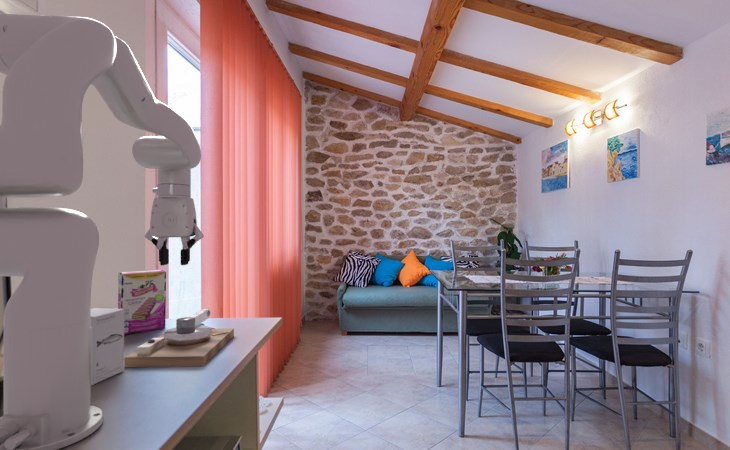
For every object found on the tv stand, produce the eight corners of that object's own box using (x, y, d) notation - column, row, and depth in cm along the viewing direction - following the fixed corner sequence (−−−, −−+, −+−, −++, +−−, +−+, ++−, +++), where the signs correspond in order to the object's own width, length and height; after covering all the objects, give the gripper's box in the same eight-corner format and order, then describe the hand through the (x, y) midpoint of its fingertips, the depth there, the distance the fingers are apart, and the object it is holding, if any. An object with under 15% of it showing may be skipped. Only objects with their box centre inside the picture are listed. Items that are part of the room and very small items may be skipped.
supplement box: (93, 386, 72) (93, 316, 72) (59, 383, 73) (59, 314, 73) (125, 371, 79) (125, 308, 79) (94, 368, 80) (94, 306, 80)
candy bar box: (121, 336, 104) (121, 273, 104) (117, 332, 108) (117, 272, 108) (166, 328, 112) (166, 270, 112) (161, 325, 115) (161, 269, 115)
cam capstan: (201, 345, 89) (201, 322, 89) (156, 345, 89) (156, 323, 89) (225, 324, 107) (225, 306, 107) (188, 325, 106) (188, 306, 106)
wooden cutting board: (203, 365, 82) (203, 345, 82) (124, 367, 81) (124, 346, 81) (233, 336, 104) (233, 319, 104) (171, 336, 103) (171, 320, 103)
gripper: (132, 191, 96) (132, 266, 96) (202, 191, 97) (202, 266, 97) (147, 193, 104) (147, 263, 104) (213, 194, 104) (213, 263, 104)
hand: (174, 264), depth 100 cm, fingers open, 4 cm apart
